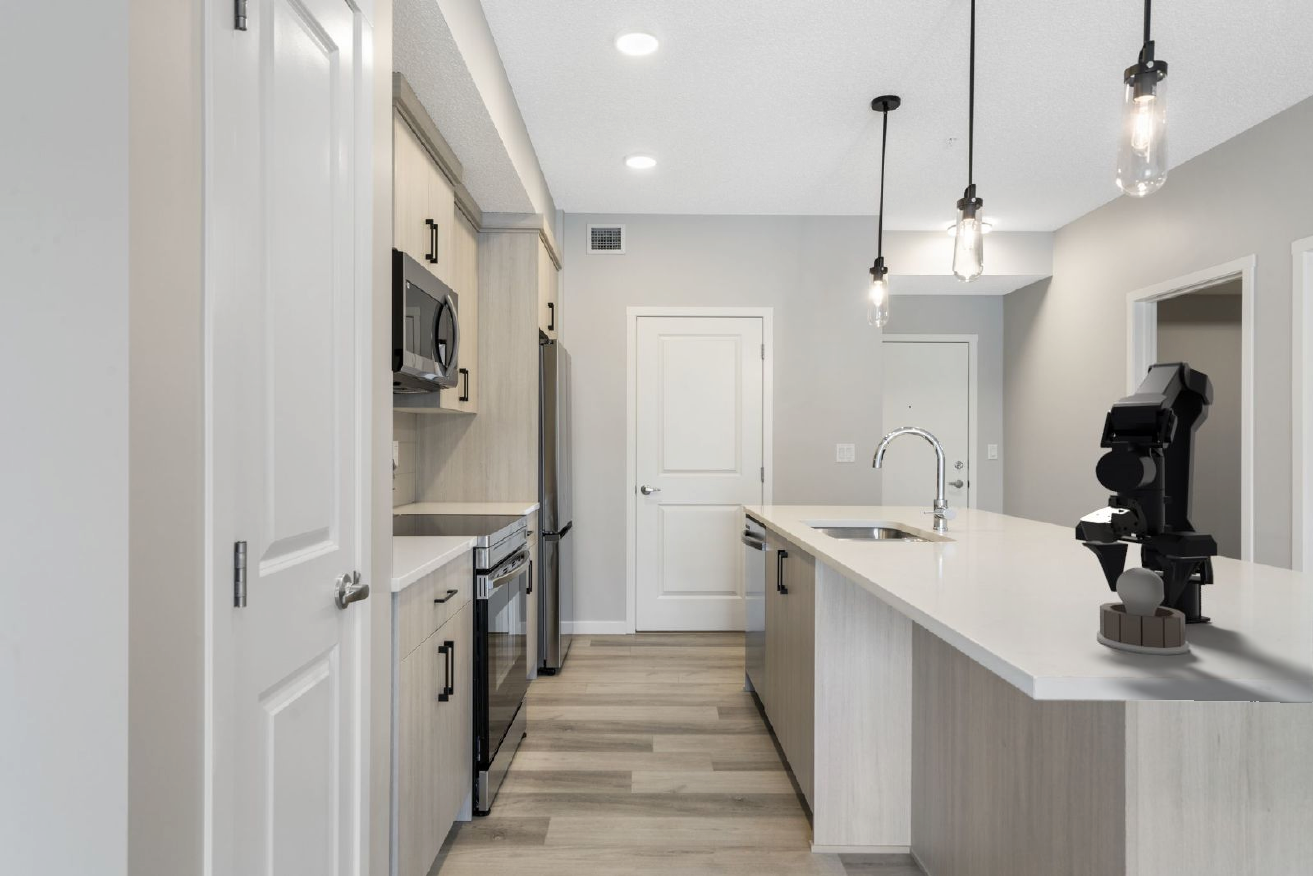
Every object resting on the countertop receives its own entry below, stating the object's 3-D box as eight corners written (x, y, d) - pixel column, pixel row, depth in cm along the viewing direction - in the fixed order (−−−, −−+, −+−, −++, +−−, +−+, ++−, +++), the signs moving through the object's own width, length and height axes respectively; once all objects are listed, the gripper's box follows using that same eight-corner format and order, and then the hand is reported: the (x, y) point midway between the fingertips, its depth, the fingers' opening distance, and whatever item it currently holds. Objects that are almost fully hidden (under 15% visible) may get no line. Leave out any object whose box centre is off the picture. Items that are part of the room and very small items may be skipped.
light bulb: (1173, 644, 103) (1173, 572, 103) (1126, 642, 104) (1126, 571, 104) (1153, 633, 109) (1154, 564, 109) (1109, 631, 110) (1109, 563, 110)
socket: (1141, 631, 113) (1140, 600, 113) (1209, 651, 102) (1208, 616, 102) (1079, 636, 110) (1078, 603, 111) (1142, 657, 100) (1141, 621, 100)
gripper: (1044, 486, 114) (1045, 588, 114) (1149, 494, 96) (1150, 616, 95) (1106, 484, 116) (1106, 584, 116) (1220, 492, 98) (1221, 611, 98)
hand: (1141, 598), depth 106 cm, fingers open, 9 cm apart
